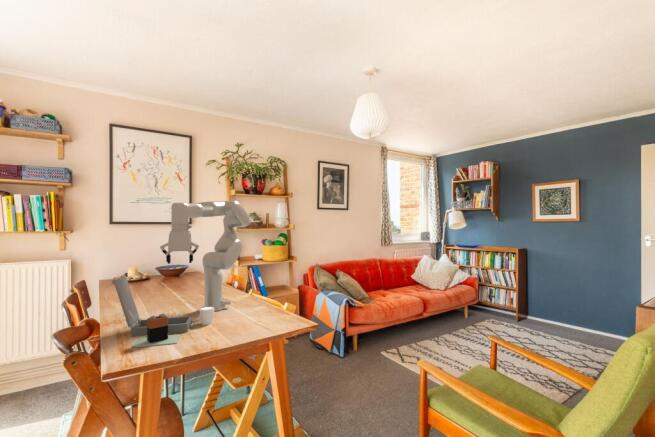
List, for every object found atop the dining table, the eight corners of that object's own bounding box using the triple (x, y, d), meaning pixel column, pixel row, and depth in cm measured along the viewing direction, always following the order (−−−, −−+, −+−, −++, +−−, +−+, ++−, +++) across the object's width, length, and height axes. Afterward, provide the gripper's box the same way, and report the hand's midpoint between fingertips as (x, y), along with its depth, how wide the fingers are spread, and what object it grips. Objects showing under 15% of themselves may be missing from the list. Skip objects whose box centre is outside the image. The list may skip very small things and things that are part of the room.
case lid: (125, 275, 145) (123, 275, 145) (115, 279, 133) (113, 280, 133) (139, 318, 146) (137, 319, 146) (131, 327, 134) (128, 327, 134)
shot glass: (217, 321, 155) (217, 306, 155) (208, 325, 148) (208, 310, 148) (205, 320, 157) (205, 305, 157) (196, 324, 151) (196, 309, 151)
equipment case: (191, 323, 152) (191, 300, 152) (187, 331, 140) (187, 306, 140) (136, 327, 146) (136, 303, 146) (127, 336, 134) (128, 310, 134)
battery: (168, 339, 130) (168, 314, 130) (149, 343, 125) (150, 318, 125) (164, 336, 133) (165, 312, 133) (146, 340, 128) (146, 315, 128)
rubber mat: (180, 335, 136) (180, 334, 136) (176, 343, 126) (176, 342, 126) (138, 338, 132) (138, 337, 132) (130, 347, 122) (130, 346, 122)
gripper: (199, 227, 162) (199, 261, 161) (162, 228, 157) (162, 262, 157) (197, 227, 154) (197, 263, 154) (158, 228, 150) (158, 264, 150)
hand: (179, 263), depth 155 cm, fingers open, 9 cm apart
